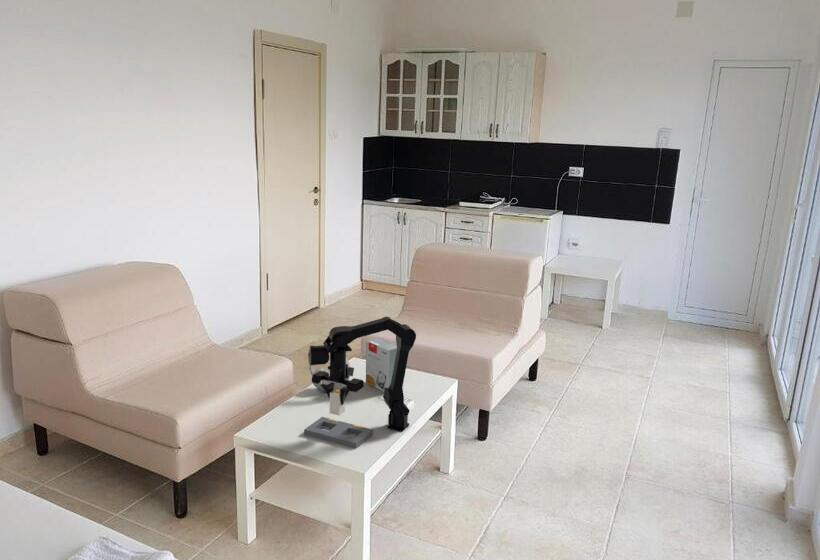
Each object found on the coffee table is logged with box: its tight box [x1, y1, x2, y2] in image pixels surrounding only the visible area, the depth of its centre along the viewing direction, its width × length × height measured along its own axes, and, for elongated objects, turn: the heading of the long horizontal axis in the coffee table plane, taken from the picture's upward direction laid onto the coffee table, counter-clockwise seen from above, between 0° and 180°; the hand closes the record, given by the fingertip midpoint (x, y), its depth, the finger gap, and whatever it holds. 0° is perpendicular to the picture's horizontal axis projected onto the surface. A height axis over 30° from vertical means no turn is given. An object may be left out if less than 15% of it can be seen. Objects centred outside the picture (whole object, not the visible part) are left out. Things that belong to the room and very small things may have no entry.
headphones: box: [308, 356, 351, 392], centre depth 270 cm, size 19×8×20 cm, turn 66°
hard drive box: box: [365, 337, 397, 393], centre depth 277 cm, size 16×8×20 cm, turn 42°
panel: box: [303, 416, 374, 449], centre depth 235 cm, size 22×12×2 cm, turn 64°
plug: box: [329, 389, 346, 416], centre depth 232 cm, size 4×4×9 cm
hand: (337, 403), depth 233 cm, fingers closed on plug, 4 cm apart
